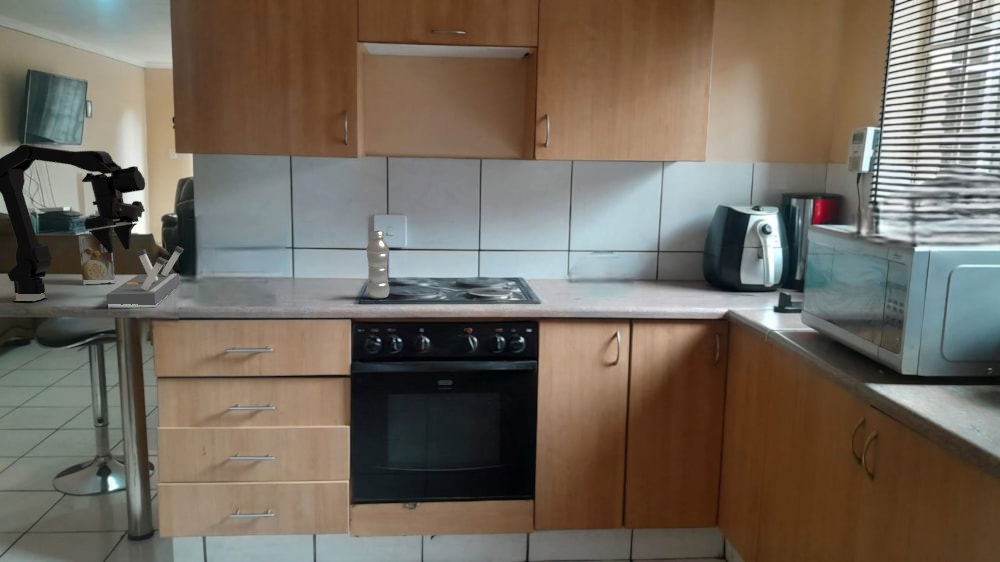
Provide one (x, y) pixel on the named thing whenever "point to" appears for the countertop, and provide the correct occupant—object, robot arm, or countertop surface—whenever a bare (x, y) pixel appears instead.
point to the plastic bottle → (377, 266)
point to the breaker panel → (137, 295)
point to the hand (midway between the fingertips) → (119, 251)
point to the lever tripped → (145, 262)
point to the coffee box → (95, 259)
